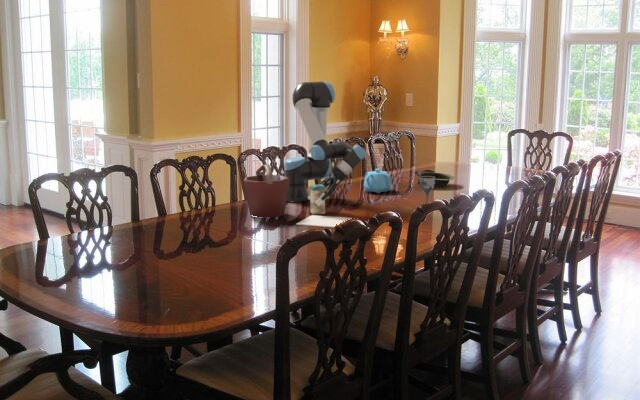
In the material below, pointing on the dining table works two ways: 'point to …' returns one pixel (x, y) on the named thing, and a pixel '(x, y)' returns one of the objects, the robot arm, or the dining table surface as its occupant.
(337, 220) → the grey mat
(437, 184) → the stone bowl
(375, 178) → the decorative pot
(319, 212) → the teal and beige block
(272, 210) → the bucket
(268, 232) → the dining table surface
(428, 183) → the wine glass
